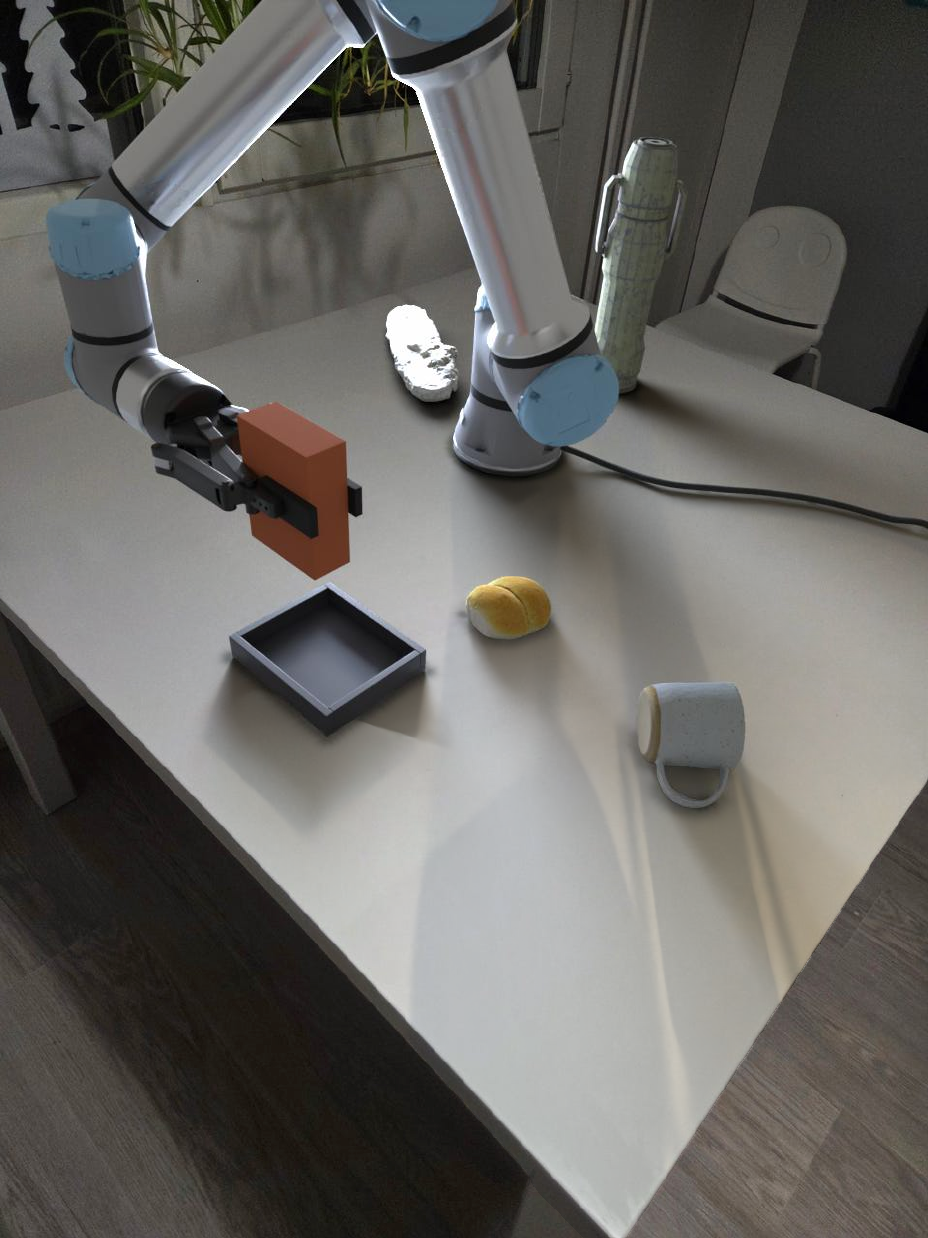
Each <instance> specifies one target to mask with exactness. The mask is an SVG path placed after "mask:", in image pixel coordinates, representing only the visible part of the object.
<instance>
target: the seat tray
mask: <svg viewBox="0 0 928 1238" xmlns="http://www.w3.org/2000/svg"><path fill="white" fill-rule="evenodd" d="M228 639H229V645H230V650H231V656H232V658H233V659H235V660H236V661H237V662H238V663H239V664H240V665H241V666H243V667H244V668H245V669H247V671H249V672H250V673H251V674H252V675H253V676H255V677H256V678H257V679H258V680H260V682H262V683H263V685H265V686H267V687H268V688H269V689H270V690H271V691H272V692H274V693H275V694H276V695H277V696H278V697H279V698H281V699H282V700H283V701H284V702H285V703H287V704H288V705H289V706H290V707H291V708H293V709H294V710H295V711H296V712H297V713H298V714H300V715H301V716H302V717H303V718H304V719H306V720H307V721H308V722H309V723H310V724H311V725H313V726H314V727H315V728H316V729H317V730H318V731H320V732H321V733H322V734H324V735H325V736H326V737H328V738H329V737H330V736H332V735H333V734H335V733H336V732H337V731H339V730H340V729H342V728H343V727H345V726H346V725H347V724H349V723H351V722H352V721H354V720H356V718H358V717H359V716H361V715H362V714H364V713H365V712H367V711H368V710H370V709H371V708H372V707H374V706H376V705H378V703H380V702H381V701H383V700H384V699H386V698H387V697H388V696H390V695H392V694H393V693H395V692H396V691H398V689H400V688H402V687H403V686H405V685H406V684H407V683H409V682H410V681H411V680H413V679H415V678H416V677H418V676H419V675H420V674H422V673H423V672H426V667H427V666H426V664H427V649H426V648H425V647H423V646H422V645H420V644H419V643H418V642H415V641H414V640H413V639H411V638H410V637H409V636H407V635H406V634H405V633H403V632H402V631H400V630H399V629H398V628H396V627H394V626H393V625H391V624H390V623H389V622H387V621H386V620H385V619H383V618H381V617H380V616H379V615H378V614H376V613H374V612H373V611H372V610H370V609H369V608H367V607H366V606H364V605H363V604H362V603H360V602H359V601H357V600H356V599H355V598H354V597H352V596H350V595H349V594H347V593H346V592H345V591H343V590H342V589H340V588H339V587H337V586H336V585H335V584H333V583H332V582H330V581H327V582H326V583H323V584H322V585H320V586H318V587H316V588H314V589H313V590H311V591H309V592H307V593H305V594H303V595H301V596H300V597H298V598H296V599H295V600H292V601H290V602H289V603H287V604H285V605H283V606H281V607H280V608H278V609H276V610H274V611H272V612H270V613H268V614H267V615H265V616H263V617H262V618H260V619H258V620H256V621H254V622H252V623H250V624H249V625H247V626H245V627H243V628H241V629H239V630H238V631H236V632H234V633H232V634H229V636H228Z"/></svg>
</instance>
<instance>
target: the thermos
mask: <svg viewBox="0 0 928 1238" xmlns="http://www.w3.org/2000/svg"><path fill="white" fill-rule="evenodd" d="M678 156H679V155H678V147H677V145H676V144H674V142H673V141H672V140H670V139H666V138H661V137H654V136H643V137H642V136H641V137H639V138H638V139H635V140H633V141H632V143H631V145H630V148H629V150H628V152H627V154H626V157H625V159H624V162H623V166H622V172H618V173H617V174H612V175H611V176H610V177H609V179H608V180H607V181H606V182H605V184H604V186H603V192H602V199H601V205H600V210H599V211H600V212H599V218H598V223H597V230H596V237H595V250H594V251H595V252H596V254H600V255H601V256H602V257H603V258H602V265H601V269H602V275H603V279H602V285H601V291H600V297H599V301H598V308H597V313H596V320H595V324H594V325H595V326H594V330H595V334H596V337H597V341H598V345H599V349H600V352H601V354H602V356H603V357H604V358H605V359H607V360H608V361H609V362H610V363H611V364H612V368H613V369H614V371H615V374H616V376H617V379H618V383H619V394H624V393H630V392H631V391H634V389H635V388H636V387H637V381H638V377H639V373H640V372H641V369H642V365H643V359H644V355H645V350H646V345H645V333H646V329H647V324H648V321H649V320H648V319H649V316H650V315H649V314H650V311H651V310H650V309H651V304H652V300H653V296H654V290H655V285H656V282H657V281H658V279H659V278H660V276H661V273H662V269H663V268H662V267H663V263H665V261H666V260H669V259H670V258H671V257H673V256H674V255H675V254H676V251H677V247H678V243H679V236H680V232H681V228H682V223H683V219H684V215H685V212H686V211H685V210H686V207H687V201H688V197H689V192H688V190H687V188H686V186H685V184H684V182H683V180H681V179H680V180H679V179H678V178H677V176H678V172H679V157H678ZM615 185H618V186H619V189H618V195H617V201H618V205H617V208H616V209H615V214H614V218H613V220H612V222H611V224H610V226H609V228H608V230H607V231H608V232H607V236H606V241H604V240H605V235H606V234H605V233H606V227H607V222H608V216H609V209H610V204H611V198H612V191H613V189H614V187H615ZM676 189H678V196H677V201H676V205H675V210H674V215H673V219H672V224H671V229H670V232H669V233H670V234H669V237H668V226H667V224H668V221H669V215H668V212H669V208H670V207H671V205H672V200H673V197H674V191H676Z"/></svg>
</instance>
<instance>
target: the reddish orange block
mask: <svg viewBox="0 0 928 1238" xmlns="http://www.w3.org/2000/svg"><path fill="white" fill-rule="evenodd" d="M269 403H270V404H268V403H267V404H265V405H262V406H258V407H256V408H253V409H251V410H250V409H249V411H247V412H245V413H242V414H239V415H237V423H238V431H239V438H240V446H241V454H242V456H241V461H242V462H243V463H244V464H245V466H246V467H247V468H248V469H249V470H250V471H251V472H252V473H253V474H254V475H255V476H256V478H257V482H258V483H259V484H260V479H259V478H261V477H263V476H266V475H267V476H269V477H270V478H272V479H274V480H275V481H277V482H278V483H280V484H281V485H283V486H284V487H286V488H287V489H289V490H290V491H292V492H293V493H295V494H297V495H298V496H300V497H301V498H303V499H304V500H306V501H307V502H309V503H311V504H312V505H314V506H315V507H317V515H318V530H319V536H317V537H315V538H313V539H310V538H309V537H307V536H306V535H305V534H303V533H302V532H300V531H299V530H297V529H296V528H294V527H293V526H291V525H290V524H288V523H287V522H286V521H284V520H283V519H281V518H280V517H279V518H277V519H273V518H270V517H268V516H267V515H266V514H264V513H263V512H261V511H260V512H259V513H258V514H254V515H250V514H248V516H249V523H250V524H249V525H250V531H251V536H252V537H253V538H255V539H256V540H257V541H259V542H260V543H261V544H263V545H264V546H266V547H267V548H269V549H270V550H271V551H272V552H274V553H275V554H277V555H278V556H279V557H281V558H282V559H283V560H285V561H287V563H289V564H291V565H292V566H294V567H295V568H297V569H298V570H299V571H300V572H302V573H303V574H304V575H306V576H308V577H309V578H310V579H312V580H313V581H314V582H315V581H317V580H319V579H321V578H323V577H325V576H326V575H329V574H331V573H332V572H334V571H336V570H338V569H340V568H341V567H343V566H346V565H347V564H349V563H351V552H350V550H351V549H350V548H351V547H350V524H349V523H350V520H349V513H348V489H347V478H348V463H347V462H348V460H347V459H348V458H347V441H346V440H345V439H342V438H341V437H339V436H337V435H336V434H335V433H333V432H331V431H329V430H328V429H325V428H324V427H322V426H320V425H319V424H317V423H316V422H313V421H311V420H310V419H308V418H306V417H304V416H303V415H301V414H299V413H298V412H296V411H294V410H293V409H290V408H289V407H287V406H285V405H284V404H283V403H282V404H281V403H280V402H278V401H273V402H269Z"/></svg>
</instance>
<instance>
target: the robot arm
mask: <svg viewBox="0 0 928 1238" xmlns="http://www.w3.org/2000/svg"><path fill="white" fill-rule="evenodd" d="M517 25H518V18H517V14H516V10H515V6H514V2H513V0H261V1H260V2H259V3H257V5H256V6H255V7H254V8H253V9H252V11H250V13H249V14H248V15H246V17H245V18H244V19H243V20H242V21H241V23H239V25H237V27H236V28H235V29H234V30H233V31H232V32H231V34H229V35H228V37H227V38H226V39H225V40H224V41H223V42H222V43H221V44H220V45H219V46H218V47H217V49H216V50H215V51H214V52H213V53H212V54H211V55H210V56H209V57H208V59H207V60H205V62H204V63H203V64H202V65H201V66H200V67H199V68H198V70H197V71H196V72H195V73H194V74H193V75H192V76H191V77H190V78H189V79H188V81H186V82H185V83H184V85H183V86H182V87H181V88H180V89H179V90H178V92H176V94H174V96H173V97H172V98H171V99H170V100H169V101H168V102H167V103H166V104H165V106H164V107H163V108H161V110H160V111H159V112H158V113H157V115H155V116H154V118H152V120H151V121H150V122H149V123H148V124H147V125H146V126H145V128H143V130H141V132H140V133H139V134H138V135H137V136H136V137H135V138H134V139H133V140H132V141H131V142H130V144H129V145H128V146H127V147H126V148H125V149H124V150H123V151H122V152H121V154H119V156H117V158H116V159H115V160H114V161H113V163H112V164H111V166H110V167H108V169H107V170H105V171H104V173H103V174H101V176H100V177H99V178H98V179H97V180H96V181H95V182H93V183H90V184H88V185H86V186H85V187H84V188H83V189H82V190H81V191H80V192H79V193H78V194H77V196H76V197H75V199H71V200H65V201H62V202H60V203H59V204H57V205H54V206H51V207H50V208H49V209H48V210H47V212H46V214H45V218H44V223H45V227H46V232H47V237H48V242H49V245H48V250H49V255H50V258H51V259H52V260H53V263H54V264H53V265H54V267H55V271H56V275H57V278H58V282H59V287H60V290H61V293H62V297H63V302H64V305H65V309H66V313H67V317H68V320H69V324H70V329H71V335H70V336H69V337H68V339H67V341H66V343H65V349H64V353H63V358H62V359H63V366H64V369H65V372H66V374H67V376H68V377H69V379H70V381H71V382H72V383H73V384H74V385H75V386H76V387H77V388H78V389H79V390H81V391H82V392H83V394H84V395H85V396H86V397H87V398H89V399H88V400H91V401H92V402H93V403H95V404H97V405H99V406H101V407H103V408H105V410H107V411H109V412H111V413H112V414H113V415H115V416H116V417H117V418H119V419H121V420H122V421H124V422H126V423H127V424H128V425H130V426H131V427H132V428H134V429H135V430H137V431H138V432H140V433H141V434H143V435H144V436H145V437H147V438H149V439H150V440H152V441H153V442H154V443H152V444H151V445H150V451H151V455H152V460H153V464H154V465H153V466H154V471H155V473H156V474H158V475H161V476H165V477H168V478H172V479H174V480H176V481H178V482H179V483H181V484H182V485H185V486H186V487H187V488H188V489H190V490H192V491H193V492H195V493H196V494H197V495H199V496H201V497H202V498H204V499H205V500H207V501H208V502H210V503H211V504H213V505H215V506H216V507H218V508H219V509H220V510H222V511H224V512H227V513H228V512H235V511H236V510H237V508H238V506H239V505H245V512H246V514H247V515H249V514H250V515H254V514H258V513H259V512H260V511H261V512H263V513H264V514H266V515H267V516H268V517H270V518H273V519H277V518H279V517H280V518H281V519H283V520H284V521H286V522H287V523H288V524H290V525H291V526H293V527H294V528H296V529H297V530H299V531H300V532H302V533H303V534H305V535H306V536H307V537H309V538H310V539H313V538H315V537H317V536H319V530H318V515H317V507H315V506H314V505H312V504H311V503H309V502H307V501H306V500H304V499H303V498H301V497H300V496H298V495H297V494H295V493H293V492H292V491H290V490H289V489H287V488H286V487H284V486H283V485H281V484H280V483H278V482H277V481H275V480H274V479H272V478H270V477H269V476H267V475H266V476H263V477H261V478H259V479H260V484H259V483H258V482H257V478H256V476H255V475H254V474H253V473H252V472H251V471H250V470H249V469H248V468H247V467H246V466H245V464H244V463H243V462H242V459H240V458H239V457H238V456H240V457H242V454H241V446H240V438H239V431H238V423H237V415H239V414H242V413H245V412H247V411H250V409H247V408H244V407H239V406H235V405H234V404H233V403H232V402H231V400H230V399H229V398H228V396H226V394H225V393H224V392H223V391H222V390H221V389H220V388H219V387H217V386H216V385H214V384H211V383H210V382H209V381H207V380H205V379H204V378H202V377H200V376H198V375H196V373H193V372H192V371H190V370H189V369H187V368H185V367H184V366H182V365H180V364H178V363H177V362H175V361H174V360H172V359H169V358H168V357H167V356H165V355H163V354H161V352H159V348H158V344H157V338H156V332H155V326H154V320H153V317H152V311H151V304H150V299H149V293H148V286H147V281H146V267H147V256H148V253H149V252H150V251H151V249H152V248H153V247H154V246H156V244H158V242H159V241H160V240H161V239H163V237H164V236H166V234H167V232H169V230H170V229H171V228H172V227H173V226H174V225H175V223H177V221H179V219H181V218H182V216H183V215H184V214H186V212H187V211H189V209H190V208H191V207H192V206H193V205H194V204H195V203H196V202H197V201H198V200H199V199H200V198H201V197H202V196H203V195H204V194H205V193H206V192H207V191H208V190H209V189H210V188H211V187H212V186H213V185H214V184H215V183H216V181H218V180H219V179H220V177H221V176H222V175H223V174H225V172H226V171H227V170H229V168H230V167H231V166H232V165H233V164H234V163H236V161H237V160H238V159H239V158H240V157H241V156H242V155H243V154H244V153H245V152H246V150H248V149H249V148H250V146H251V145H252V144H253V143H255V141H257V139H259V138H260V136H261V135H262V134H264V132H266V130H267V129H268V128H269V127H270V126H271V125H272V124H273V123H274V122H275V121H276V120H277V119H278V118H279V117H280V116H281V115H282V114H283V113H284V112H285V111H286V110H287V108H289V106H291V105H292V103H294V101H296V100H297V98H298V97H299V96H300V95H301V94H302V93H303V92H304V91H305V90H306V89H307V88H309V86H310V85H311V84H312V83H313V82H314V81H315V80H316V79H317V78H318V77H319V76H320V75H321V74H322V73H323V71H325V70H326V68H327V67H328V66H330V64H331V63H332V62H333V61H334V60H335V59H336V58H337V57H338V56H339V55H340V54H341V53H342V52H343V51H344V50H345V49H346V48H349V47H353V48H364V47H365V46H366V44H368V43H369V42H370V41H371V40H372V39H373V38H374V36H376V35H378V38H379V42H380V44H381V48H382V50H383V52H384V56H385V58H386V60H387V64H388V66H389V69H390V72H391V75H392V77H393V78H395V79H396V80H398V81H400V82H402V83H404V84H406V85H408V86H410V87H412V88H413V89H414V90H415V91H416V92H415V93H416V95H417V97H418V100H419V103H420V107H421V109H422V112H423V115H424V118H425V121H426V125H427V126H428V130H429V133H430V135H431V139H432V141H433V144H434V148H435V150H436V154H437V156H438V159H439V162H440V165H441V168H442V171H443V173H444V177H445V180H446V183H447V185H448V188H449V191H450V194H451V197H452V200H453V203H454V206H455V208H456V209H455V210H456V211H457V215H458V217H459V222H460V223H461V226H462V229H463V233H464V235H465V238H466V241H467V244H468V247H469V250H470V253H471V255H472V258H473V261H474V264H475V267H476V271H477V273H478V276H479V279H480V282H481V286H480V287H479V288H478V291H477V297H476V305H475V306H474V309H473V310H474V312H475V315H474V331H473V344H472V345H473V346H472V358H471V359H472V361H471V372H470V373H471V376H470V390H469V396H468V398H467V400H466V403H465V405H464V407H462V408H461V411H460V413H459V419H458V422H457V424H456V426H455V430H454V433H453V445H452V446H453V450H454V453H455V455H456V456H457V457H458V458H459V459H460V460H461V461H462V462H463V463H465V464H466V465H468V466H470V467H471V468H473V469H476V470H478V471H480V472H484V473H487V474H491V475H496V476H503V477H526V476H534V475H537V474H541V473H544V472H546V471H549V470H550V469H552V468H554V467H555V466H556V465H557V464H558V463H559V461H560V460H561V456H562V451H563V452H565V453H568V454H570V455H573V456H575V457H578V458H581V459H583V460H586V461H588V462H590V463H593V464H595V465H598V466H600V467H603V468H605V469H608V470H611V471H613V472H616V473H619V474H621V475H623V476H626V477H629V478H631V479H635V480H638V481H641V482H644V483H649V484H651V485H656V486H660V487H665V488H672V489H679V490H688V491H701V492H702V491H703V492H711V493H712V492H713V493H724V494H725V493H726V494H737V495H738V494H739V495H751V496H752V495H753V496H763V497H771V498H778V499H779V498H780V499H787V500H788V499H789V500H794V501H801V502H807V503H813V504H818V505H823V506H828V507H832V508H836V509H840V510H844V511H848V512H852V513H855V514H859V515H861V516H865V517H869V518H872V519H876V520H879V521H883V522H887V523H893V524H900V525H909V526H911V525H912V526H918V527H923V528H925V529H926V530H928V520H926V519H922V518H918V517H917V518H916V517H906V516H896V515H891V514H886V513H884V512H883V513H882V512H879V511H875V510H871V509H868V508H865V507H861V506H857V505H855V504H851V503H847V502H843V501H839V500H834V499H830V498H825V497H820V496H815V495H811V494H804V493H799V492H790V491H783V490H775V489H768V488H759V487H758V488H757V487H745V486H744V487H743V486H731V485H716V484H706V483H694V482H693V483H692V482H682V481H674V480H670V479H669V480H668V479H663V478H658V477H655V476H651V475H647V474H643V473H640V472H637V471H635V470H631V469H629V468H627V467H624V466H621V465H618V464H616V463H613V462H610V461H607V460H605V459H602V458H600V457H598V456H596V455H593V454H591V453H588V452H586V451H583V450H581V449H578V448H575V447H572V446H573V445H575V444H578V443H580V442H582V441H585V440H587V439H589V438H590V437H591V436H593V435H594V434H595V433H597V432H598V431H599V430H600V429H601V428H602V427H603V426H604V425H605V424H606V423H607V419H608V418H609V417H610V415H612V414H613V412H614V411H615V409H616V406H617V403H618V401H619V394H620V393H619V383H618V379H617V376H616V374H615V371H614V369H613V368H612V364H611V363H610V362H609V361H608V360H607V359H605V358H604V357H603V356H602V354H601V352H600V349H599V345H598V341H597V337H596V334H595V330H594V329H595V326H594V322H593V318H592V314H591V310H590V307H589V305H588V303H587V302H586V301H585V300H584V299H583V298H580V297H578V296H576V295H573V294H571V291H570V286H569V283H568V279H567V275H566V271H565V268H564V264H563V260H562V256H561V252H560V248H559V245H558V240H557V237H556V234H555V228H554V225H553V222H552V218H551V215H550V210H549V208H548V203H547V199H546V195H545V192H544V188H543V183H542V180H541V177H540V173H539V170H538V165H537V160H536V157H535V153H534V149H533V145H532V142H531V139H530V135H529V131H528V128H527V123H526V119H525V116H524V115H525V114H524V112H523V108H522V104H521V100H520V96H519V92H518V88H517V85H516V82H515V78H514V74H513V70H512V67H511V61H510V58H509V54H508V46H509V44H510V42H511V40H512V36H513V35H514V32H515V29H516V27H517ZM270 403H271V402H268V403H267V404H270ZM347 489H348V514H349V515H351V516H353V517H354V518H358V517H360V516H361V515H364V514H363V511H364V510H363V486H362V485H360V484H359V483H357V482H355V481H353V480H352V479H350V478H349V477H347Z"/></svg>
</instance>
